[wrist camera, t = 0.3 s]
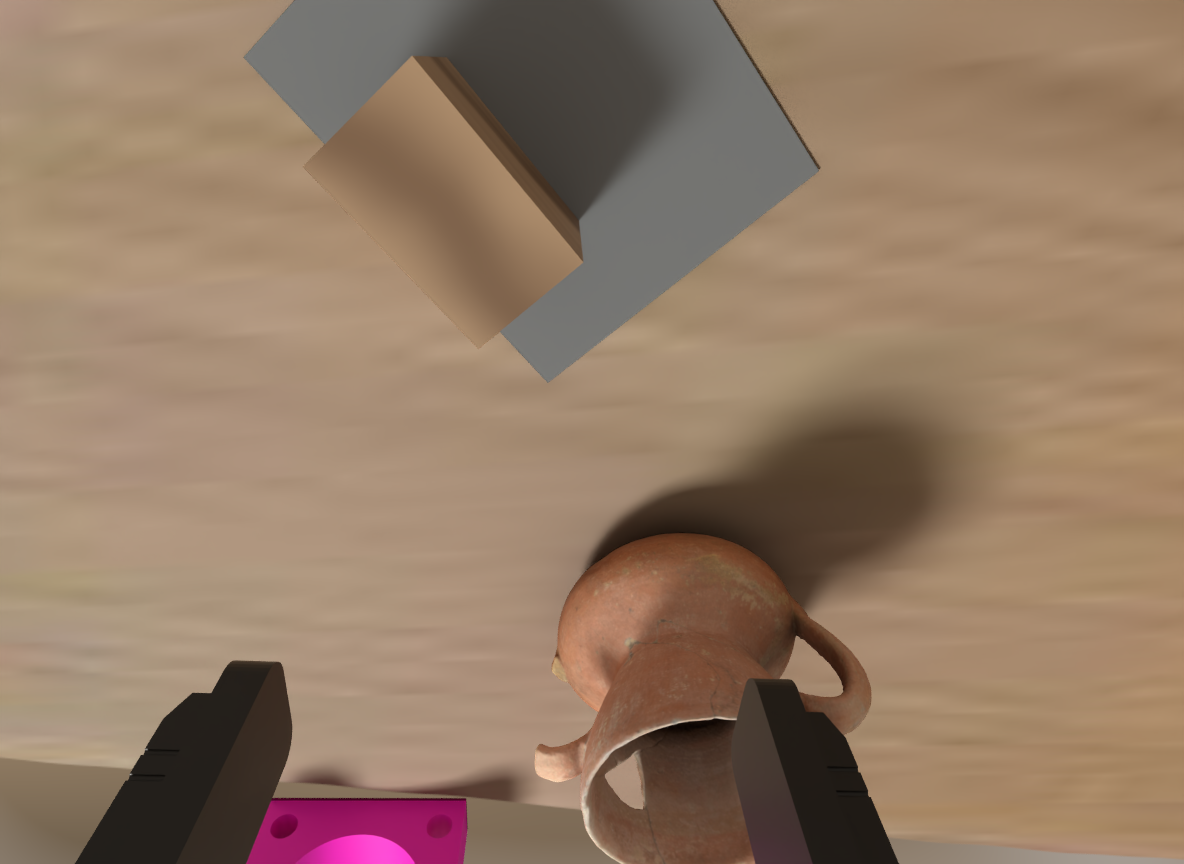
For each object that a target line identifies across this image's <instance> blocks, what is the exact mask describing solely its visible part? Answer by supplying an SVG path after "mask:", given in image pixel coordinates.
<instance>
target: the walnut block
mask: <svg viewBox="0 0 1184 864" xmlns="http://www.w3.org/2000/svg"><path fill="white" fill-rule="evenodd" d="M303 168H304V169H305V170H306V171H307V172H308V173H309V174H310V175H311V176H312V177H313V178H314V179H315V180H316V181H317V182H318V183H319V184H320V185H321V186H322V187H323V188H324V189H325V190H326V192H327V193H328V194H329V195H330V196H331V197H332V198H333V199H334V200H335V201H336V202H337V203H338V204H339V205H340V206H341V207H342V208H343V209H344V210H345V211H346V212H347V213H348V214H349V215H350V216H351V217H352V219H353V220H354V221H355V222H356V223H357V224H358V225H359V226H360V227H361V228H362V229H363V230H364V231H365V232H366V233H367V234H368V235H369V236H370V237H371V238H372V239H373V240H374V241H375V242H376V243H377V244H378V245H379V247H380V248H381V249H382V250H383V251H384V252H385V253H386V254H387V255H388V256H389V257H390V258H391V259H392V260H393V261H394V262H395V263H396V264H397V265H398V266H399V267H400V268H401V269H402V270H403V271H404V272H405V274H406V275H407V276H408V277H409V278H410V279H411V280H412V281H413V282H414V283H415V284H416V285H417V286H418V287H419V288H420V289H421V290H422V291H423V292H424V293H425V294H426V295H427V296H428V297H429V298H430V299H431V300H432V302H433V303H434V304H435V305H436V306H437V307H438V308H439V309H440V310H441V311H442V312H443V313H444V314H445V315H446V316H447V317H448V318H449V319H450V320H451V321H452V322H453V323H454V324H455V325H456V326H457V327H458V329H459V330H460V331H461V332H462V333H463V334H464V335H465V336H466V337H467V338H468V339H469V340H470V341H471V342H472V343H473V344H474V345H475V346H476V347H477V348H478V349H479V348H481V347H482V346H483V345H484V344H485V343H487V342H488V341H489V340H490V339H491V338H493V337H494V336H495V335H496V334H498V333H499V332H500V331H501V330H502V329H504V328H505V327H506V326H507V325H508V324H510V323H511V322H512V321H513V320H514V319H516V318H517V317H518V316H519V315H520V314H522V313H523V312H524V311H525V310H527V309H528V308H529V307H530V306H531V305H533V304H534V303H535V302H536V301H537V300H539V299H540V298H541V297H542V296H543V295H545V294H546V293H547V292H548V291H549V290H551V289H552V288H553V287H554V286H556V285H557V284H558V283H559V282H560V281H562V280H563V279H564V278H565V277H566V276H568V275H569V274H570V273H571V272H572V271H574V270H575V269H576V268H577V267H578V266H580V265H581V264H582V263H583V253H582V244H581V235H580V226H579V220H578V219H577V218H576V216H575V215H574V214H573V213H572V211H571V210H570V209H569V208H568V207H567V205H566V204H565V203H564V202H563V200H562V199H561V198H560V197H559V195H558V194H557V193H556V192H555V190H554V189H553V188H552V187H551V186H550V184H549V183H548V182H547V181H546V179H545V178H544V177H543V176H542V174H541V173H540V172H539V171H538V169H537V168H536V167H535V166H534V165H533V163H532V162H531V161H530V160H529V158H528V157H527V156H526V155H525V153H524V152H523V151H522V150H521V148H520V147H519V146H518V145H517V144H516V142H515V141H514V140H513V139H512V137H511V136H510V135H509V134H508V132H507V131H506V130H505V129H504V127H503V126H502V125H501V124H500V123H499V121H498V120H497V119H496V118H495V116H494V115H493V114H492V113H491V111H490V110H489V109H488V108H487V106H486V105H485V104H484V103H483V102H482V100H481V99H480V98H479V97H478V95H477V94H476V93H475V92H474V90H473V89H472V88H471V87H470V85H469V84H468V83H467V82H466V81H465V79H464V78H463V77H462V76H461V74H460V73H459V72H458V71H457V69H456V68H455V67H454V66H453V64H452V63H451V62H450V61H449V60H448V58H447V57H429V56H411V57H410V58H409V59H408V60H407V61H406V62H405V63H404V64H403V65H402V66H401V67H400V68H399V69H398V70H397V72H396V73H395V74H394V75H393V76H392V77H391V78H390V79H389V80H388V81H387V82H386V83H385V84H384V85H383V86H382V87H381V88H380V89H379V90H378V91H377V92H376V93H375V94H374V95H373V96H372V97H371V98H370V99H369V100H368V101H367V102H366V103H365V104H364V105H363V106H362V107H361V108H360V109H359V110H358V111H357V112H356V113H355V114H354V115H353V116H352V117H351V118H350V119H349V120H348V121H347V122H346V123H345V124H344V125H343V126H342V127H341V128H340V129H339V130H338V131H337V132H336V133H335V134H334V136H333V137H332V138H331V139H330V140H329V141H328V142H327V143H326V144H325V145H324V146H323V147H322V148H321V149H320V150H319V151H318V152H317V153H316V154H315V155H314V156H313V157H312V158H311V159H310V160H309V161H308V162H307V163H306V164H305V165H304V166H303Z"/></svg>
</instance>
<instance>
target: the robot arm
mask: <svg viewBox="0 0 1184 864" xmlns="http://www.w3.org/2000/svg"><path fill="white" fill-rule="evenodd" d="M291 739H292V720H291V713H290V707H289V701H288V695H287V689H286V683H285V676H284V670H283V667H282V664H281V663H280V662H266V661H232V662H230V663H229V664H228V665H227V667H226V668H225V670H224V671H223V673H222V675H221V677H220V679H219V680H218V682H217V684H216V686H215V688H214V689H213V691H212V693H192V694H191V695H190V696H188V697H187V698H186V699H185V700H184V701H183V702H182V703H181V704H179V705H178V706H177V707H176V708H175V709H174V710H173V711H171V712H170V713H169V714H168V715H167V716H166V717H165V718H164V719H163V720H162V722H161V723H160V725H159V727H158V728H157V730H156V732H155V733H154V735H153V737H152V738H151V740H150V741H149V743H148V745H147V746H146V748H145V753H144V755H141V756H140V758H139V759H138V761H137V763H136V764H135V766H134V768H133V769H132V771H131V773H130V777H129V780H128V781H125V783H124V784H123V786H122V787H121V789H120V791H119V792H118V794H117V796H116V797H115V799H114V800H113V802H112V804H111V806H110V807H109V809H108V810H107V812H106V814H105V815H104V817H103V819H102V820H101V822H100V823H99V825H98V827H97V828H96V830H95V832H94V834H93V835H92V837H91V838H90V840H89V841H88V843H87V845H86V846H85V848H84V850H83V852H82V853H81V855H80V856H79V858H78V860H77V861H76V863H75V864H246V863H247V860H248V858H249V855H250V853H251V850H252V848H253V845H254V843H255V840H256V838H257V835H258V833H259V830H260V827H261V825H262V822H263V820H264V817H265V815H266V812H267V810H268V807H269V805H270V802H271V800H272V797H273V795H274V792H275V789H276V787H277V784H278V782H279V779H280V777H281V774H282V772H283V769H284V767H285V764H286V761H287V758H288V755H289V751H290V746H291ZM731 758H732V768H733V774H734V778H735V782H736V786H737V790H738V795H739V799H740V803H741V807H742V811H743V815H744V819H745V823H746V827H747V832H748V836H749V840H750V844H751V848H752V852H753V856H754V860H755V864H899V863H898V861H897V858H896V856H895V854H894V851H893V849H892V847H891V844H890V842H889V839H888V837H887V835H886V832H885V830H884V828H883V825H882V823H881V820H880V818H879V816H878V813H877V811H876V809H875V806H874V804H873V801H872V799H871V797H869V796H868V790H867V787H866V785H865V783H864V780H863V778H862V775H861V773H859V772H858V766H857V764H856V761H855V759H854V756H853V754H852V752H851V749H850V747H849V745H848V742H847V740H846V738H845V737H844V735H843V734H842V733H841V732H840V731H839V730H838V728H837V727H836V726H835V725H834V724H833V723H832V722H831V720H830V719H829V718H828V717H827V716H826V715H825V714H824V712H806V710H805V708H804V705H803V702H802V700H801V697H800V694H799V692H798V689H797V687H796V685H795V683H794V682H793V681H792V680H789V679H758V678H749V679H748V680H747V682H746V685H745V688H744V692H743V696H742V700H741V704H740V708H739V712H738V716H737V720H736V724H735V728H734V732H733V736H732V744H731Z"/></svg>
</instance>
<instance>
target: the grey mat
mask: <svg viewBox="0 0 1184 864" xmlns="http://www.w3.org/2000/svg"><path fill="white" fill-rule="evenodd" d="M411 56H429V57H447V58H448V60H449V61H450V62H451V63H452V64H453V66H454V67H455V68H456V69H457V71H458V72H459V73H460V74H461V76H462V77H463V78H464V79H465V81H466V82H467V83H468V84H469V85H470V87H471V88H472V89H473V90H474V92H475V93H476V94H477V95H478V97H479V98H480V99H481V100H482V102H483V103H484V104H485V105H486V106H487V108H488V109H489V110H490V111H491V113H492V114H493V115H494V116H495V118H496V119H497V120H498V121H499V123H500V124H501V125H502V126H503V127H504V129H505V130H506V131H507V132H508V134H509V135H510V136H511V137H512V139H513V140H514V141H515V142H516V144H517V145H518V146H519V147H520V148H521V150H522V151H523V152H524V153H525V155H526V156H527V157H528V158H529V160H530V161H531V162H532V163H533V165H534V166H535V167H536V168H537V169H538V171H539V172H540V173H541V174H542V176H543V177H544V178H545V179H546V181H547V182H548V183H549V184H550V186H551V187H552V188H553V189H554V190H555V192H556V193H557V194H558V195H559V197H560V198H561V199H562V200H563V202H564V203H565V204H566V205H567V207H568V208H569V209H570V210H571V211H572V213H573V214H574V215H575V216H576V218H577V219H578V220H579V226H580V235H581V244H582V253H583V263H582V264H581V265H580V266H578V267H577V268H576V269H575V270H574V271H572V272H571V273H570V274H569V275H568V276H566V277H565V278H564V279H563V280H562V281H560V282H559V283H558V284H557V285H556V286H554V287H553V288H552V289H551V290H549V291H548V292H547V293H546V294H545V295H543V296H542V297H541V298H540V299H539V300H537V301H536V302H535V303H534V304H533V305H531V306H530V307H529V308H528V309H527V310H525V311H524V312H523V313H522V314H520V315H519V316H518V317H517V318H516V319H514V320H513V321H512V322H511V323H510V324H508V325H507V326H506V327H505V328H504V329H502V330H501V331H500V332H501V333H502V334H503V335H504V336H505V338H506V339H507V340H508V341H509V342H510V343H511V344H512V345H513V346H514V347H515V348H516V349H517V350H518V351H519V353H520V354H521V355H522V356H523V357H524V358H525V359H526V360H527V361H528V362H529V363H530V364H531V365H532V366H533V368H534V369H535V370H536V371H537V372H538V373H539V374H540V375H541V376H542V377H543V378H544V379H545V380H546V381H547V382H550V381H551V380H552V379H553V378H555V377H556V376H557V375H559V374H560V373H561V372H562V371H564V370H565V369H566V368H567V367H569V366H570V365H571V364H573V363H574V362H575V361H576V360H578V359H579V358H580V357H582V356H583V355H584V354H585V353H587V352H588V351H589V350H591V349H592V348H593V347H594V346H596V345H597V344H598V343H599V342H601V341H602V340H603V339H605V338H606V337H607V336H608V335H610V334H611V333H612V332H614V331H615V330H616V329H617V328H619V327H620V326H621V325H623V324H624V323H625V322H626V321H628V320H629V319H630V318H631V317H633V316H634V315H635V314H637V313H638V312H639V311H640V310H642V309H643V308H644V307H646V306H647V305H648V304H649V303H651V302H652V301H653V300H654V299H656V298H657V297H658V296H660V295H661V294H662V293H663V292H665V291H666V290H667V289H669V288H670V287H671V286H672V285H674V284H675V283H676V282H678V281H679V280H680V279H681V278H683V277H684V276H685V275H686V274H688V273H689V272H690V271H692V270H693V269H694V268H695V267H697V266H698V265H699V264H701V263H702V262H703V261H704V260H706V259H707V258H708V257H709V256H711V255H712V254H713V253H715V252H716V251H717V250H718V249H720V248H721V247H722V246H724V245H725V244H726V243H727V242H729V241H730V240H731V239H733V238H734V237H735V236H736V235H738V234H739V233H740V232H741V231H743V230H744V229H745V228H747V227H748V226H749V225H750V224H752V223H753V222H754V221H756V220H757V219H758V218H759V217H761V216H762V215H763V214H765V213H766V212H767V211H768V210H770V209H771V208H772V207H773V206H775V205H776V204H777V203H779V202H780V201H781V200H782V199H784V198H785V197H786V196H788V195H789V194H790V193H791V192H793V191H794V190H795V189H796V188H798V187H799V186H800V185H802V184H803V183H804V182H805V181H807V180H808V179H809V178H811V177H812V176H813V175H814V174H816V173H817V172H818V171H819V170H818V168H817V167H816V165H815V164H814V162H813V160H812V159H811V157H810V156H809V154H808V152H807V151H806V149H805V147H804V146H803V144H802V143H801V141H800V139H799V138H798V136H797V135H796V133H795V131H794V130H793V128H792V127H791V125H790V123H789V122H788V120H787V119H786V117H785V115H784V114H783V112H782V111H781V109H780V107H779V106H778V104H777V103H776V101H775V99H774V98H773V96H772V95H771V93H770V91H769V90H768V88H767V86H766V85H765V83H764V82H763V80H762V78H761V77H760V75H759V74H758V72H757V70H756V69H755V67H754V66H753V64H752V62H751V61H750V59H749V58H748V56H747V54H746V53H745V51H744V50H743V48H742V46H741V45H740V43H739V42H738V40H737V38H736V37H735V35H734V34H733V32H732V30H731V29H730V27H729V25H728V24H727V22H726V21H725V19H724V17H723V16H722V14H721V13H720V11H719V9H718V8H717V6H716V5H715V3H714V1H713V0H295V1H294V2H293V3H292V4H291V5H290V6H289V7H288V8H287V10H286V11H285V12H284V13H283V14H282V15H281V16H280V17H279V18H278V20H277V21H276V22H275V23H274V24H273V25H272V26H271V27H270V28H269V30H268V31H267V32H266V33H265V34H264V35H263V36H262V37H261V39H260V40H259V41H258V42H257V43H256V44H255V45H254V46H253V47H252V49H251V50H250V51H249V52H248V53H247V54H246V55H245V56H244V58H245V59H246V61H247V62H248V63H249V64H250V65H251V66H252V67H253V68H254V69H255V70H256V71H257V72H258V73H259V74H260V75H261V77H262V78H263V79H264V80H265V81H266V82H267V83H268V84H269V85H270V86H271V87H272V88H273V89H274V90H275V92H276V93H277V94H278V95H279V96H280V97H281V98H282V99H283V100H284V101H285V102H286V103H287V104H288V105H289V107H290V108H291V109H292V110H293V111H294V112H295V113H296V114H297V115H298V116H299V117H300V118H301V119H302V120H303V121H304V123H305V124H306V125H307V126H308V127H309V128H310V129H311V130H312V131H313V132H314V133H315V134H316V135H317V136H318V138H319V139H320V140H321V141H322V142H323V143H324V144H326V143H327V142H328V141H329V140H330V139H331V138H332V137H333V136H334V134H335V133H336V132H337V131H338V130H339V129H340V128H341V127H342V126H343V125H344V124H345V123H346V122H347V121H348V120H349V119H350V118H351V117H352V116H353V115H354V114H355V113H356V112H357V111H358V110H359V109H360V108H361V107H362V106H363V105H364V104H365V103H366V102H367V101H368V100H369V99H370V98H371V97H372V96H373V95H374V94H375V93H376V92H377V91H378V90H379V89H380V88H381V87H382V86H383V85H384V84H385V83H386V82H387V81H388V80H389V79H390V78H391V77H392V76H393V75H394V74H395V73H396V72H397V70H398V69H399V68H400V67H401V66H402V65H403V64H404V63H405V62H406V61H407V60H408V59H409V58H410V57H411Z"/></svg>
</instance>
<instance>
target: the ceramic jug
mask: <svg viewBox="0 0 1184 864" xmlns="http://www.w3.org/2000/svg"><path fill="white" fill-rule="evenodd" d="M796 635H797V636H799V637H800V638H801V639H804V640H805V641H806V642H807V643H808V644H809V645H811V647H812V648H814V649H815V650H816V651H817V652H818V653H819V655H820V656H822V657H824V659H825V660H826V661H827V662H828V663H829V664H830V665H831V666H832V668H833V669H834V670H835V671H836V673H837V674H838V676H839V678H840V680H841V682H842V685H843V691H844V692H843V693H842V694H841V695H839V696H837V697H819V696H814V695H808V694H804V693H801V692H799V694H800V697H801V700H802V702H803V705H804V708H805V710H806V712H824V714H825V715H826V716H827V717H828V718H829V719H830V720H831V722H832V723H833V724H834V725H835V726H836V727H837V728H838V730H839V731H840V732H841V733H842V734H843V735H845V734H847V733H849V732H851V731H853V730H854V729H856V728H857V727H858V726H859V725H860V724H861V722H862V721H863V720H864V718H865V717H866V715H867V713H868V710H869V708H870V705H871V687H870V683H869V680H868V678H867V675H866V673H865V671H864V669H863V667H862V666H861V664H860V662H859V661H858V660H857V658H856V657H855V656H854V655H853V653H852V652H851V651H850V650H849V649H848V648H847V647H846V646H845V645H844V644H843V643H842V642H841V641H840V640H839V639H837V638H836V637H835V636H834V635H833V634H831V633H830V632H829V631H827V630H826V629H825V628H823V627H822V626H821V625H819V624H818V623H816V622H815V621H813V620H812V619H810V618H809V617H808V615H807V613H806V612H805V611H804V610H803V608H802V607H801V606H800V605H799V604H798V603H797V602H796V601H795V600H794V599H793V598H792V597H791V595H790V594H789V593H788V591H787V589H786V588H785V586H784V584H783V582H782V581H781V580H780V578H779V577H778V575H777V574H776V573H775V572H774V571H773V570H772V568H771V567H770V566H769V565H767V564H766V563H765V562H764V561H763V560H762V559H761V558H759V557H758V556H757V555H755V554H754V553H752V552H751V551H749V550H748V549H746V548H744V547H742V546H740V545H738V544H736V543H733V542H730V541H728V540H725V539H722V538H718V537H714V536H709V535H703V534H693V533H671V534H661V535H655V536H650V537H646V538H643V539H639V540H636V541H633V542H630V543H628V544H626V545H624V546H621V547H619V548H618V549H616V550H614V551H612V552H611V553H610V554H608V555H607V556H606V557H604V558H603V559H601V560H600V561H598V562H597V563H595V564H594V565H593V566H591V567H590V568H589V569H588V570H587V571H586V572H585V573H584V574H583V575H582V576H581V577H580V579H579V580H578V581H577V582H576V584H575V585H574V587H573V588H572V590H571V592H570V593H569V595H568V597H567V599H566V602H565V604H564V607H563V610H562V613H561V617H560V621H559V627H558V646H557V650H556V655H555V657H554V660H553V663H552V672H553V673H554V674H555V675H556V676H557V677H558V678H559V679H560V680H562V681H563V682H568V683H569V684H570V685H571V686H572V688H573V689H574V691H575V692H576V693H577V694H578V695H579V696H580V698H582V700H583V701H584V702H586V703H587V704H588V705H589V706H590V707H592V708H593V709H594V710H596V711H597V712H598V714H597V717H596V719H595V722H594V724H593V727H592V728H591V729H590V730H589V731H588V733H587V734H585V735H584V736H582V737H580V738H579V739H578V740H576V741H574V742H571V743H569V744H566V745H563V746H559V747H548V746H545V745H543V744H539V745H538V747H537V749H536V751H535V769H536V773H537V774H538V775H539V776H540V777H542V778H545V779H548V780H551V781H554V782H562V781H565V780H569V779H572V778H574V777H576V776H578V775H579V774H581V773H582V774H581V784H580V805H581V810H582V812H583V818H584V823H585V827H586V830H587V832H588V834H589V836H590V837H591V839H592V840H593V842H594V843H595V844H596V845H597V846H598V848H600V849H601V850H602V851H603V852H604V853H606V854H607V855H608V856H609V857H611V858H612V859H614V860H616V861H618V862H619V863H621V864H755V860H754V856H753V852H752V848H751V844H750V840H749V836H748V832H747V827H746V823H745V819H744V815H743V811H742V807H741V803H740V799H739V795H738V790H737V786H736V782H735V778H734V774H733V768H732V758H731V744H732V736H733V732H734V728H735V724H736V720H737V716H738V712H739V708H740V704H741V700H742V696H743V692H744V688H745V685H746V682H747V680H748V679H749V678H758V679H779V678H780V677H781V675H782V674H783V672H784V670H785V668H786V666H787V664H788V662H789V659H790V657H791V654H792V650H793V646H794V641H795V637H796ZM632 754H633V755H634V756H635V760H636V762H637V768H638V772H639V776H640V780H641V790H642V797H643V810H642V809H634V808H632V807H630V806H628V805H627V804H626V803H624V802H623V801H621V800H620V798H619V797H618V796H617V795H616V793H615V792H614V790H613V789H612V788H611V787H610V785H609V784H608V782H607V780H606V779H605V774H606V773H607V772H608V771H610V770H612V769H614V768H615V767H616V766H618V765H620V764H621V763H623V762H624V761H626V760H627V759H628V758H629V757H631V755H632Z"/></svg>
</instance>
